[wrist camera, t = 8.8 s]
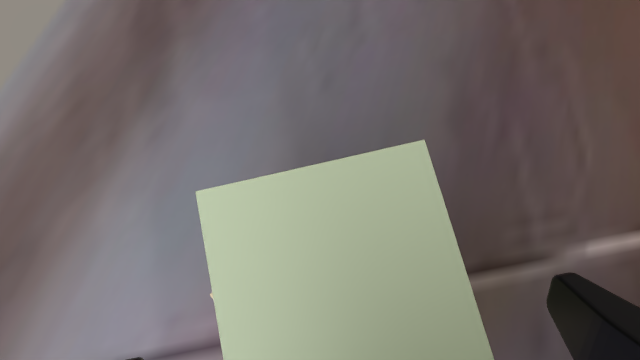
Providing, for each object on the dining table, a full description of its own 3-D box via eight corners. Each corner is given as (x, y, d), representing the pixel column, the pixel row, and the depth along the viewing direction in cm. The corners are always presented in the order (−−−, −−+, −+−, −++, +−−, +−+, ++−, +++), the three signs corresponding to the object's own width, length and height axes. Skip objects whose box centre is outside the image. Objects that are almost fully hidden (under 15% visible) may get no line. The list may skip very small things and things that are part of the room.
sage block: (387, 330, 18) (501, 384, 7) (292, 354, 18) (239, 453, 6) (362, 236, 19) (424, 139, 8) (272, 257, 19) (195, 191, 7)
